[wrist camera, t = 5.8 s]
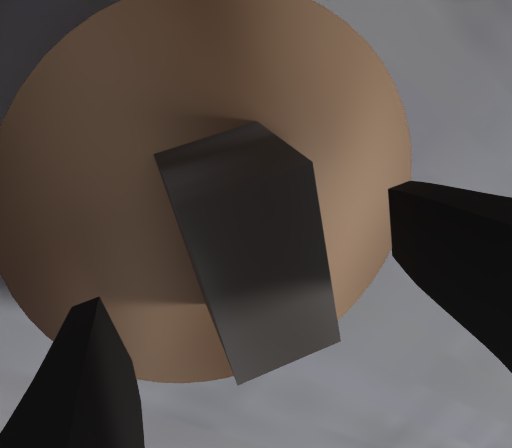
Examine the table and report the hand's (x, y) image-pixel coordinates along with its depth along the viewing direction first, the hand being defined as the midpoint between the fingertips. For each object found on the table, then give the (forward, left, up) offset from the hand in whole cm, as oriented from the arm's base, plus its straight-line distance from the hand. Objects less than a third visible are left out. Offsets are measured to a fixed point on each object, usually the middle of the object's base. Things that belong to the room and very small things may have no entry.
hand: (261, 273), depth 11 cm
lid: (0, 0, -3) cm, 3 cm away
